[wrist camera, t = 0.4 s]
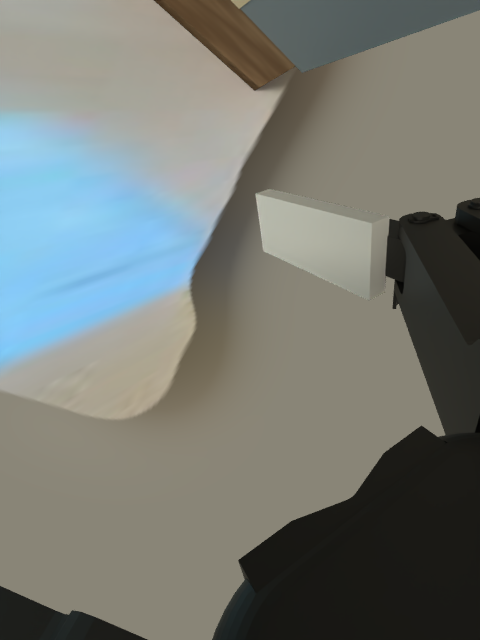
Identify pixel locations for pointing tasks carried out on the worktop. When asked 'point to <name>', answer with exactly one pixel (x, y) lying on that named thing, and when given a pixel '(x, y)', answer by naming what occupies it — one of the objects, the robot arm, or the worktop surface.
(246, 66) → the walnut box
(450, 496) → the robot arm
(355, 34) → the lid
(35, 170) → the worktop surface
